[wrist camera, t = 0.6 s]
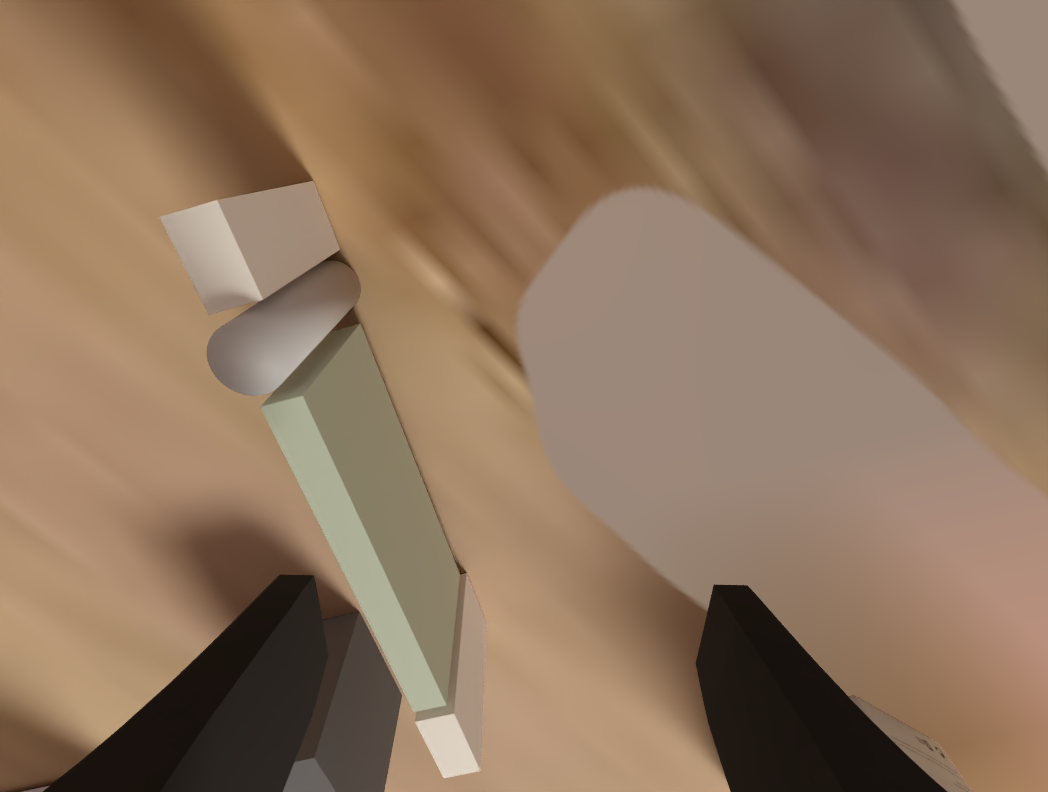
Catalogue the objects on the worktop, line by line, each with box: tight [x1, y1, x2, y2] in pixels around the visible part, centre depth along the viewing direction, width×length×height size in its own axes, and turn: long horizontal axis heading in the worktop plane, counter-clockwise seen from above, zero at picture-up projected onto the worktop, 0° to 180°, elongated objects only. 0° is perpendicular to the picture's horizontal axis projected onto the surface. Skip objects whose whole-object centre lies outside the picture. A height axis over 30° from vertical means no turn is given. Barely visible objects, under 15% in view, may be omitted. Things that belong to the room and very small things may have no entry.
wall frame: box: [159, 181, 486, 778], centre depth 17 cm, size 2×18×6 cm, turn 15°
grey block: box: [283, 612, 402, 792], centre depth 21 cm, size 4×5×6 cm
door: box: [260, 324, 460, 712], centre depth 17 cm, size 2×10×6 cm, turn 15°
